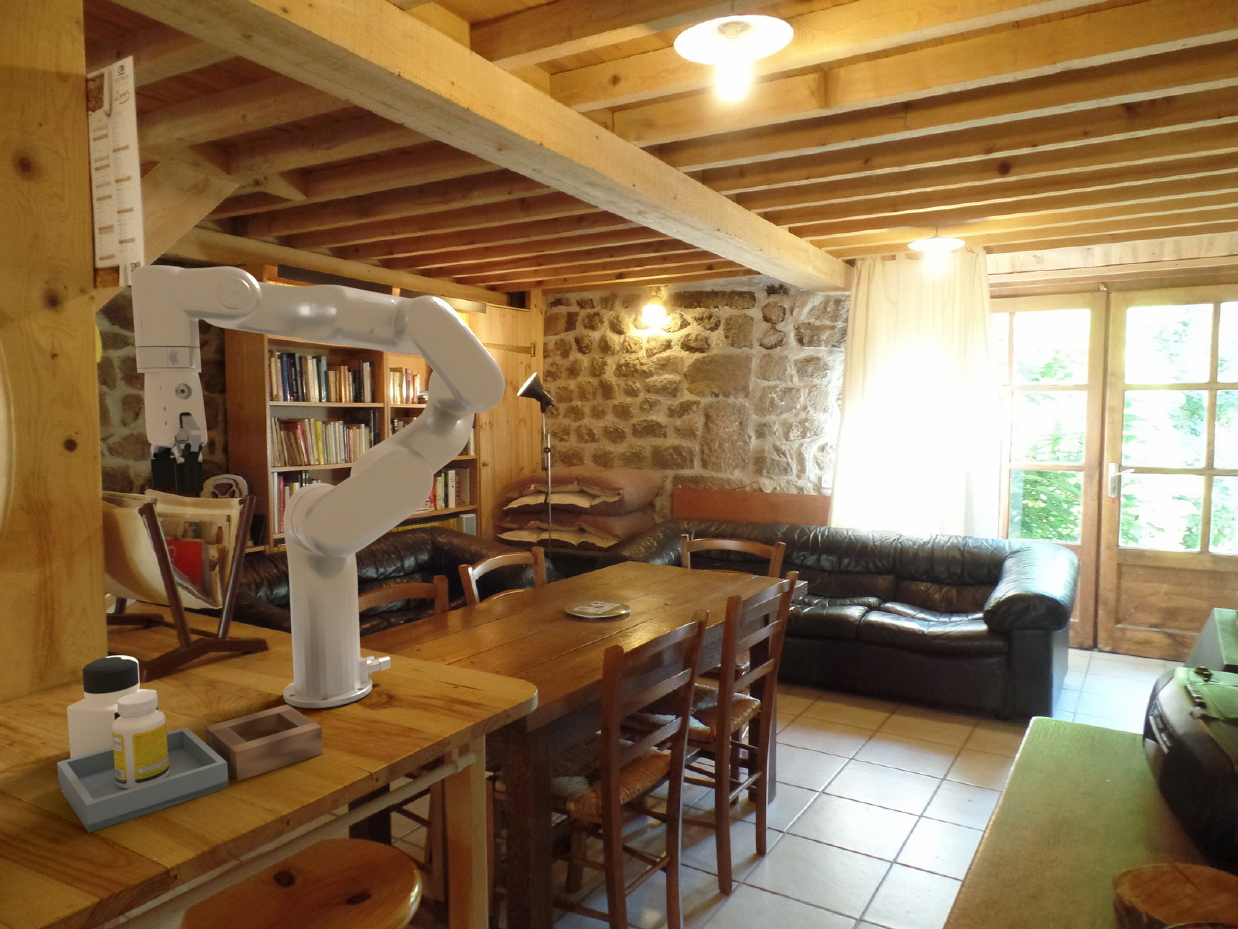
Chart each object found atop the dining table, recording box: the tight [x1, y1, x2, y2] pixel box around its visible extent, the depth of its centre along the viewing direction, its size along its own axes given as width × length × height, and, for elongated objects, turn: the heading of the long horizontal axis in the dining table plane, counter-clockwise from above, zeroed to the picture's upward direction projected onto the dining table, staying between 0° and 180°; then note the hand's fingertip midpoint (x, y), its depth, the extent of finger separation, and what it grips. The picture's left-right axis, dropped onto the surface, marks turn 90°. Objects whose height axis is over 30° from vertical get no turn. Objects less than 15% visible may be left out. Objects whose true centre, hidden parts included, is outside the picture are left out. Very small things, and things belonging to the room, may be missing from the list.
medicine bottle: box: [66, 654, 159, 759], centre depth 107 cm, size 7×7×12 cm
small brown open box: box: [204, 704, 324, 782], centre depth 106 cm, size 10×10×4 cm
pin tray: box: [56, 726, 229, 834], centre depth 98 cm, size 14×14×3 cm
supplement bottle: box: [112, 692, 169, 789], centre depth 97 cm, size 5×5×10 cm
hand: (177, 489), depth 114 cm, fingers open, 9 cm apart
